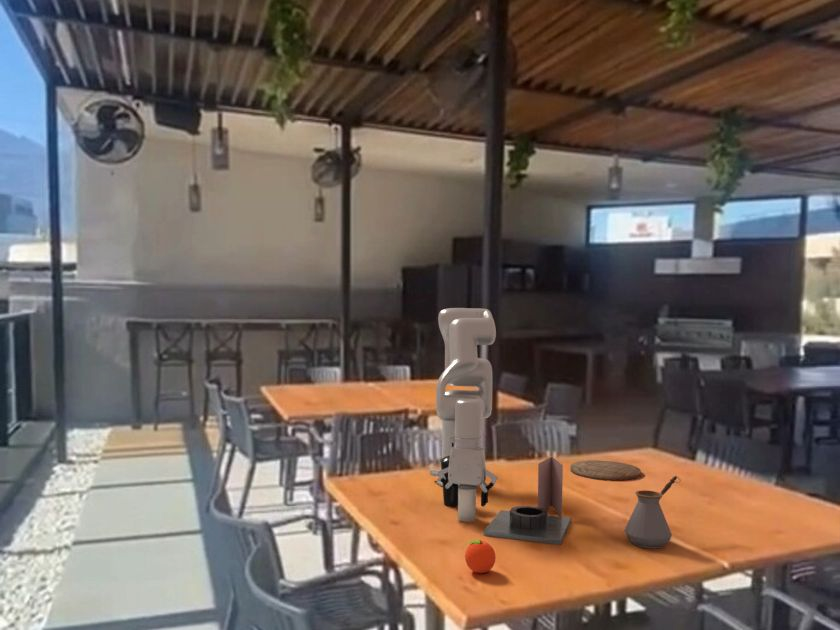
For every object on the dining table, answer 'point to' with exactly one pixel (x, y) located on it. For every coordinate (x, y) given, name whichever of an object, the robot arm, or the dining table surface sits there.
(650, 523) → the coffee pot
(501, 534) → the square plate with ring
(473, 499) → the round-ended cylinder
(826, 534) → the dining table surface
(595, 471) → the trivet
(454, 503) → the drinking cup
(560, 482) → the greeting card
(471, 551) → the clementine
